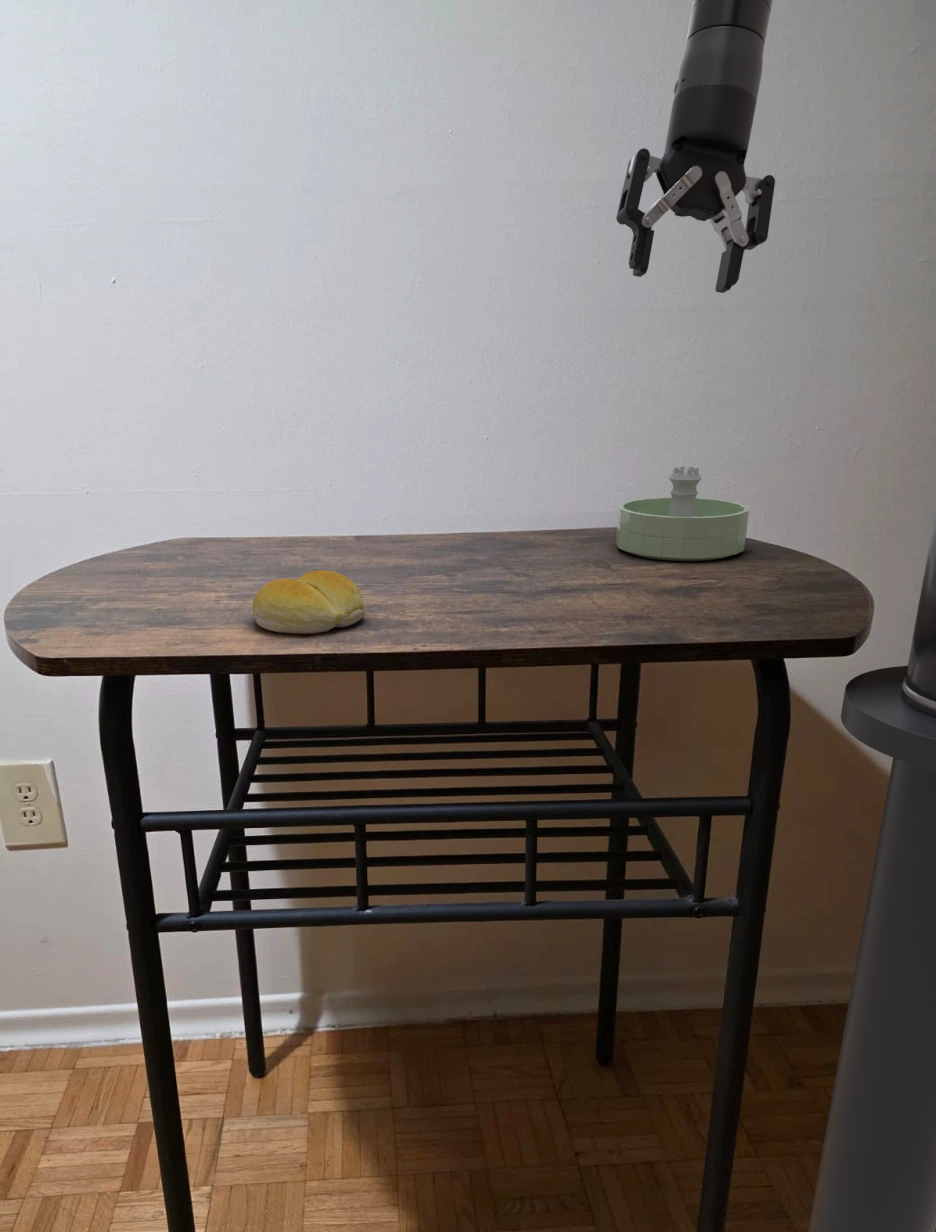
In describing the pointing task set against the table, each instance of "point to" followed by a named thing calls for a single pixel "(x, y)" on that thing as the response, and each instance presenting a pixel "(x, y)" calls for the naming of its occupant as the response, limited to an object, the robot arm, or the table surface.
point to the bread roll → (308, 603)
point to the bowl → (682, 529)
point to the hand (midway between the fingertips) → (681, 282)
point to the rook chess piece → (684, 491)
